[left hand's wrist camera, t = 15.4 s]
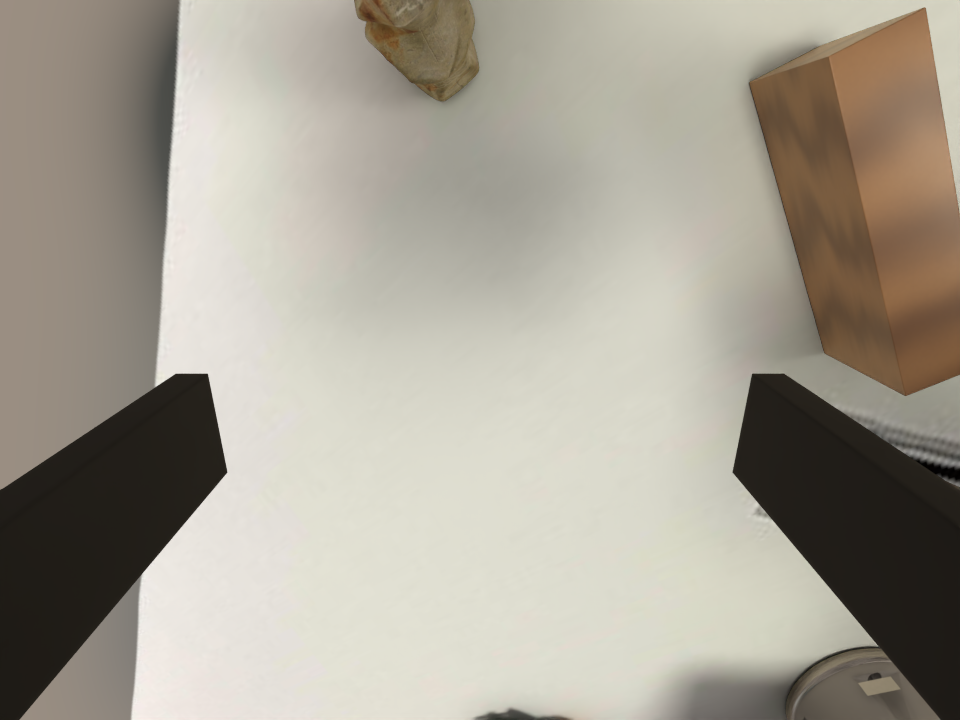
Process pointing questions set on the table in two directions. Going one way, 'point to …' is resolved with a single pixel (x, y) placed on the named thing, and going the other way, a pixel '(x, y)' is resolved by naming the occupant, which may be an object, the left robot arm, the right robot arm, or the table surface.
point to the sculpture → (424, 41)
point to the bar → (871, 199)
